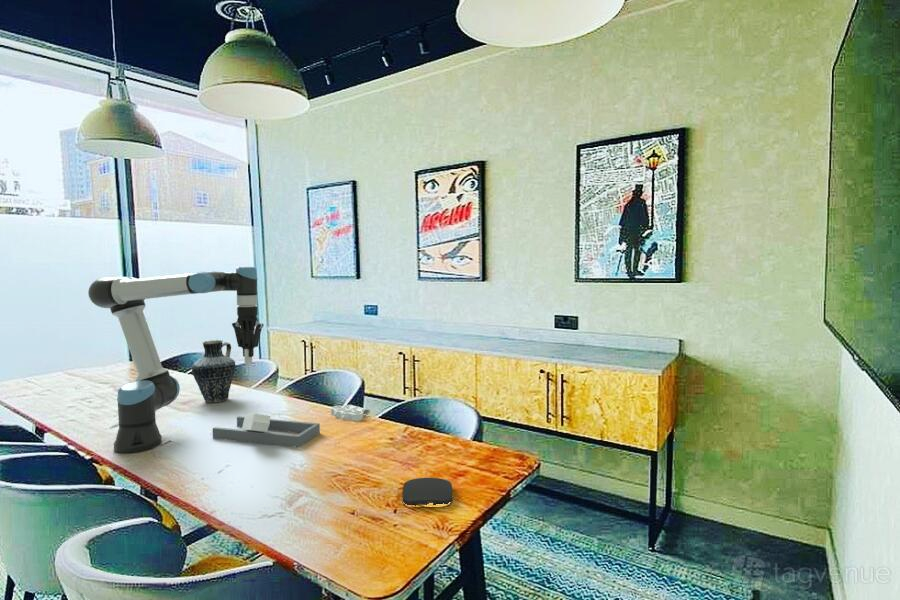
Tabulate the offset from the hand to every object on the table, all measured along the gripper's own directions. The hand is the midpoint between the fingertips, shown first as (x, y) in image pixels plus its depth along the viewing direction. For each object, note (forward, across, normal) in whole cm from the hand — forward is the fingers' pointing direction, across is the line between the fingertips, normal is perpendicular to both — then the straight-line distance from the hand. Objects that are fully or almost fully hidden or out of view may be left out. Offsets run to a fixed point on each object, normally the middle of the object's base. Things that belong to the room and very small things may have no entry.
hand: (248, 364), depth 196 cm
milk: (+25, +1, -2) cm, 25 cm away
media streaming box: (+29, -84, +33) cm, 95 cm away
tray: (+28, -7, 0) cm, 29 cm away
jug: (+29, +47, -38) cm, 67 cm away
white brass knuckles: (+29, -28, -33) cm, 52 cm away
